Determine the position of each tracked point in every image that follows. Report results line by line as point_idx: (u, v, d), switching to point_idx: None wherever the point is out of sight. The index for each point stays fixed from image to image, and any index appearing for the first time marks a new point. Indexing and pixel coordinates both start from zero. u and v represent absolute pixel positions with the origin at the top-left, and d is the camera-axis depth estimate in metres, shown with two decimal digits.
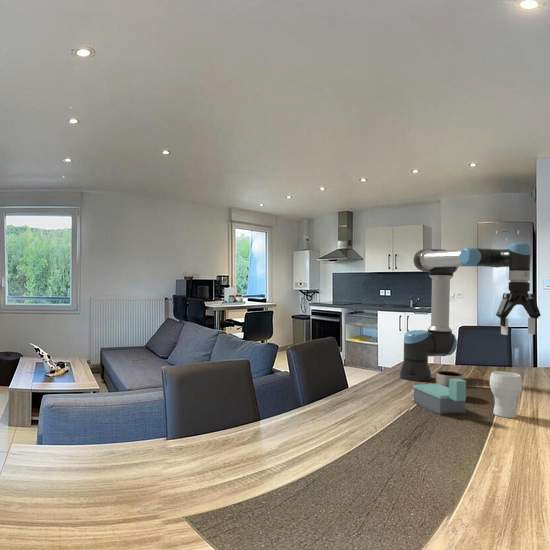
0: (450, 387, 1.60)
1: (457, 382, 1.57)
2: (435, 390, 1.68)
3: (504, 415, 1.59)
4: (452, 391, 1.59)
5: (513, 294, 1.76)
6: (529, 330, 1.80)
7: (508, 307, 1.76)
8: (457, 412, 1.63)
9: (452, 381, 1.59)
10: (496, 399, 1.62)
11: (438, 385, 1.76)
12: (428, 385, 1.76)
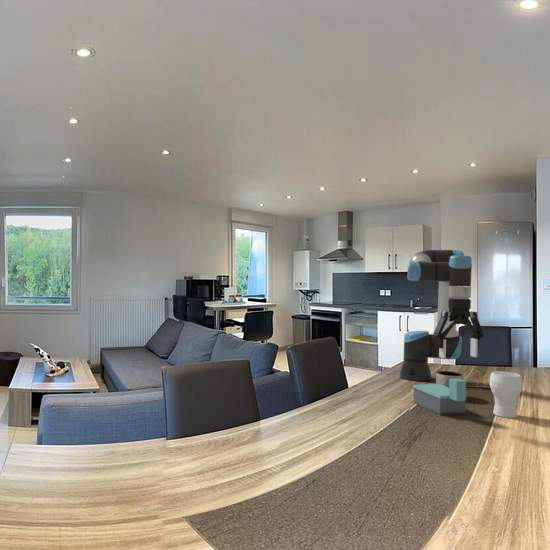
0: (450, 387, 1.60)
1: (457, 382, 1.57)
2: (435, 390, 1.68)
3: (504, 415, 1.59)
4: (452, 391, 1.59)
5: (452, 312, 1.58)
6: (471, 352, 1.62)
7: (446, 327, 1.58)
8: (457, 412, 1.63)
9: (452, 381, 1.59)
10: (496, 399, 1.62)
11: (438, 385, 1.76)
12: (428, 385, 1.76)
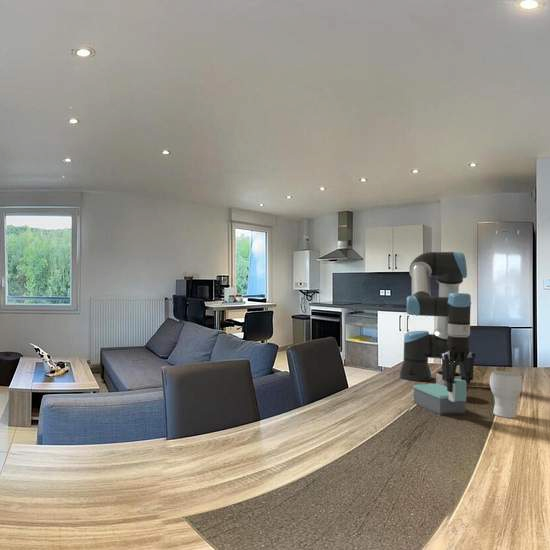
0: None
1: (457, 382, 1.57)
2: (435, 390, 1.68)
3: (504, 415, 1.59)
4: None
5: (451, 351, 1.58)
6: None
7: (451, 369, 1.59)
8: (457, 412, 1.63)
9: None
10: (496, 399, 1.62)
11: (438, 385, 1.76)
12: (428, 385, 1.76)
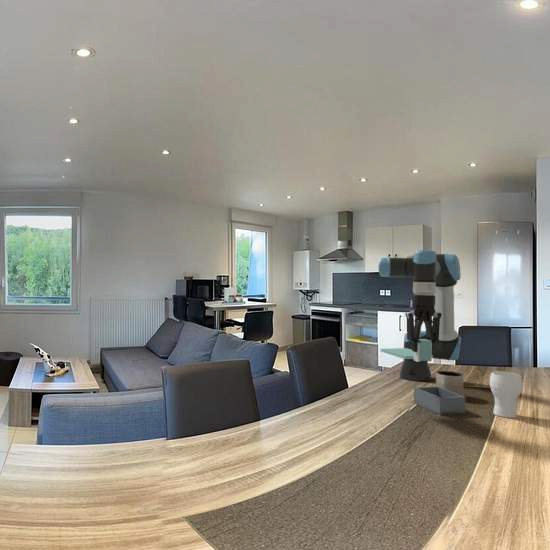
0: None
1: (422, 341, 1.53)
2: (402, 352, 1.64)
3: (504, 415, 1.59)
4: None
5: (415, 310, 1.54)
6: None
7: (416, 328, 1.54)
8: (457, 412, 1.63)
9: None
10: (496, 399, 1.62)
11: (406, 349, 1.72)
12: (396, 349, 1.71)
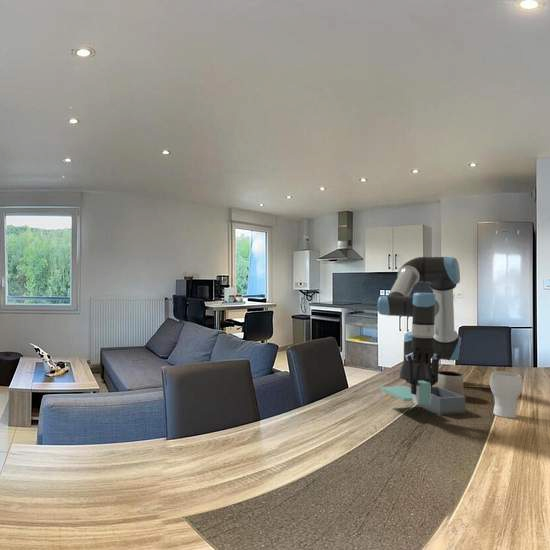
0: None
1: (421, 384, 1.53)
2: (401, 392, 1.63)
3: (504, 415, 1.59)
4: None
5: (414, 353, 1.53)
6: None
7: (415, 371, 1.54)
8: (457, 412, 1.63)
9: None
10: (496, 399, 1.62)
11: (405, 387, 1.72)
12: (395, 387, 1.71)
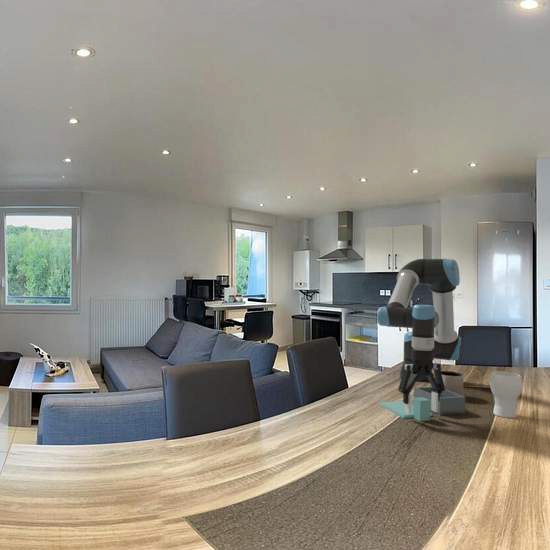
0: (414, 406, 1.56)
1: (421, 401, 1.53)
2: (400, 409, 1.63)
3: (504, 415, 1.59)
4: (416, 410, 1.55)
5: (414, 364, 1.53)
6: (432, 406, 1.57)
7: (410, 381, 1.54)
8: (457, 412, 1.63)
9: (416, 400, 1.55)
10: (496, 399, 1.62)
11: None
12: (395, 403, 1.71)
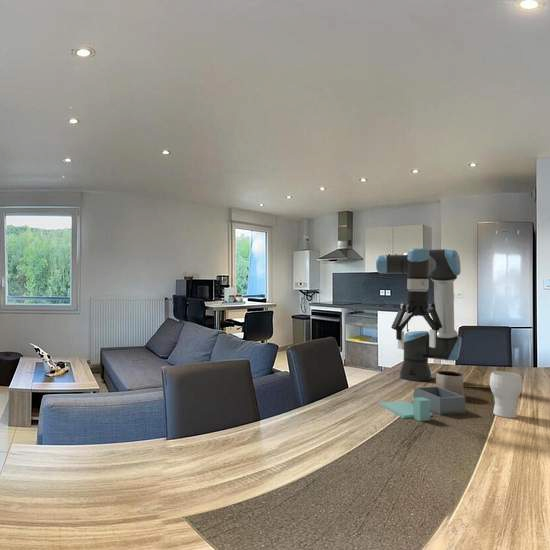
0: (414, 406, 1.56)
1: (421, 401, 1.53)
2: (400, 409, 1.63)
3: (504, 415, 1.59)
4: (416, 410, 1.55)
5: (410, 305, 1.61)
6: (430, 343, 1.66)
7: (405, 319, 1.61)
8: (457, 412, 1.63)
9: (416, 400, 1.55)
10: (496, 399, 1.62)
11: (405, 403, 1.72)
12: (395, 403, 1.71)
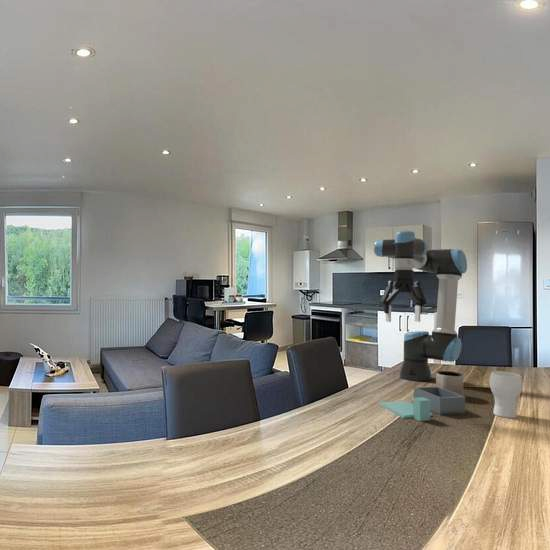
0: (414, 406, 1.56)
1: (421, 401, 1.53)
2: (400, 409, 1.63)
3: (504, 415, 1.59)
4: (416, 410, 1.55)
5: (397, 282, 1.78)
6: (415, 318, 1.82)
7: (392, 294, 1.78)
8: (457, 412, 1.63)
9: (416, 400, 1.55)
10: (496, 399, 1.62)
11: (405, 403, 1.72)
12: (395, 403, 1.71)
